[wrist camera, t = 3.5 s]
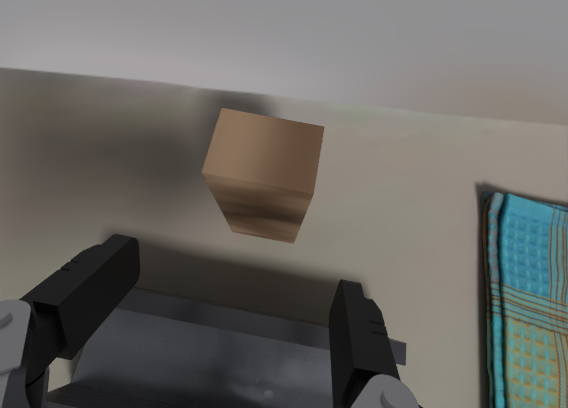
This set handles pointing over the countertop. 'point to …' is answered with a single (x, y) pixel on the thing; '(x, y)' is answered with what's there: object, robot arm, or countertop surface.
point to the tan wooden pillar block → (263, 172)
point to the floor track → (201, 358)
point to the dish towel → (526, 301)
